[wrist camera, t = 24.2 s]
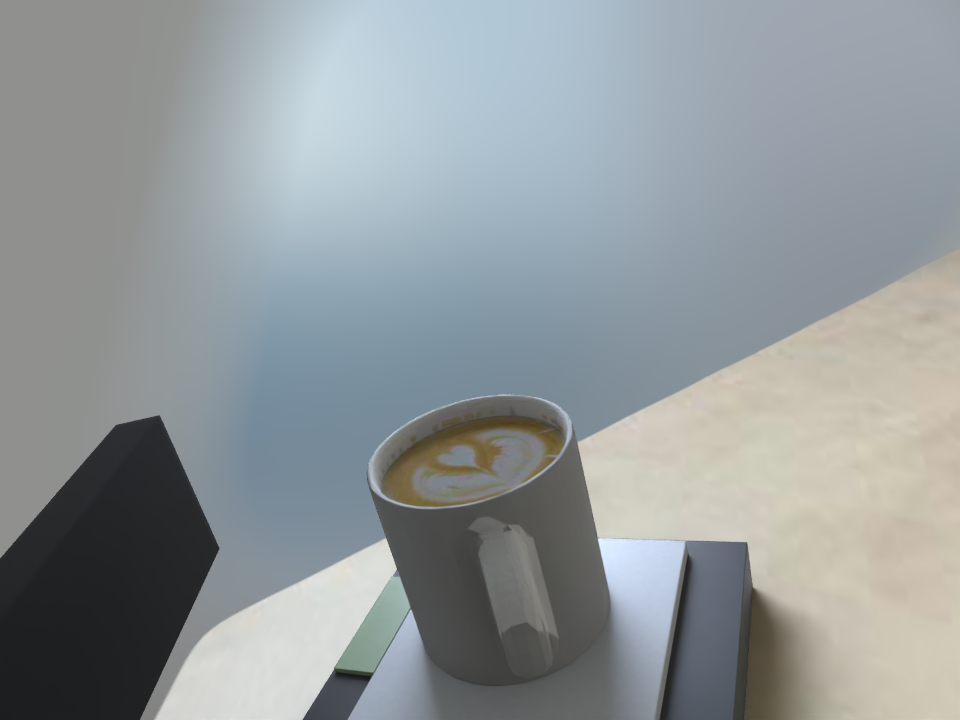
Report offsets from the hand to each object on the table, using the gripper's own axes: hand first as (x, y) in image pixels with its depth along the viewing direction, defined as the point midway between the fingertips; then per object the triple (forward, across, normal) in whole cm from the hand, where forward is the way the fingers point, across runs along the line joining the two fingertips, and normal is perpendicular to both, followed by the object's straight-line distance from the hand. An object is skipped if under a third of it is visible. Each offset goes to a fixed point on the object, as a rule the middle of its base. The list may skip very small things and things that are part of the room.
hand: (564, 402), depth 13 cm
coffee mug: (+19, -4, -22) cm, 29 cm away
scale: (+19, -4, -26) cm, 32 cm away
